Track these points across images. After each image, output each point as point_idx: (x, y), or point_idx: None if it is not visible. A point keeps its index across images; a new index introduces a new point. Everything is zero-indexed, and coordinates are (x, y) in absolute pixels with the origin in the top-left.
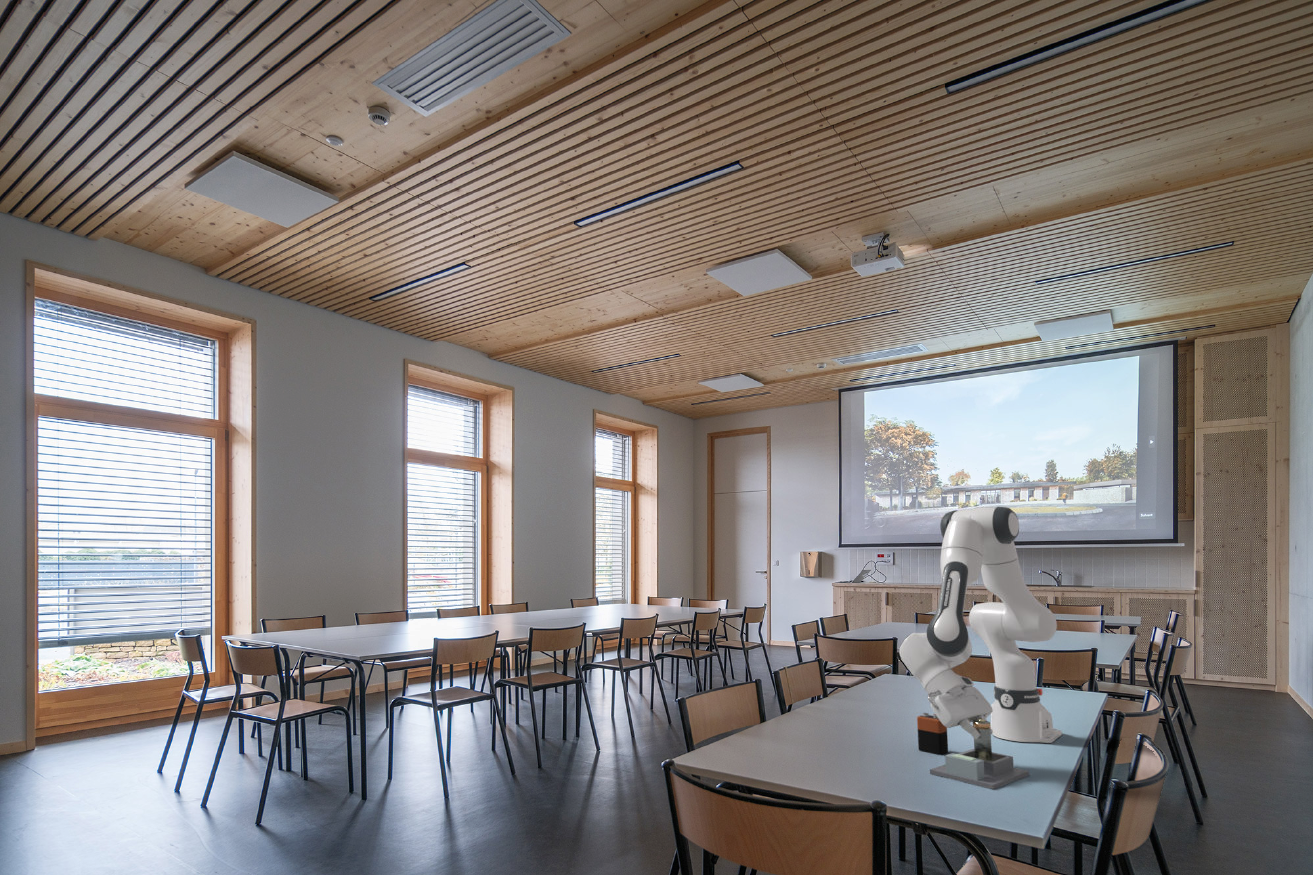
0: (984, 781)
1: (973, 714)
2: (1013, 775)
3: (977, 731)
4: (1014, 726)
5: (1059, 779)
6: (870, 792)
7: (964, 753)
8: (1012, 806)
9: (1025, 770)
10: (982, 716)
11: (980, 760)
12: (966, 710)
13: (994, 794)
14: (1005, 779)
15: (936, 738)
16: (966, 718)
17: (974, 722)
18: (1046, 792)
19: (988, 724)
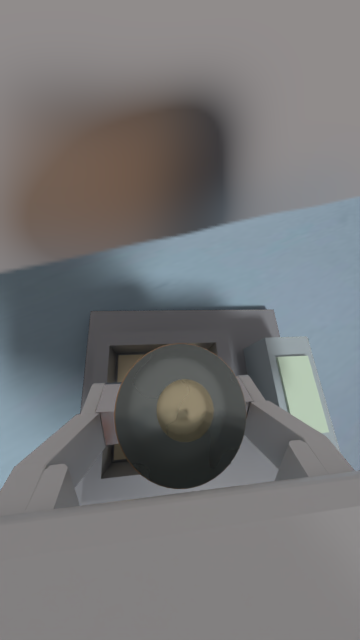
0: (268, 333)
1: (224, 499)
2: (164, 316)
3: (248, 388)
4: None
5: (75, 261)
6: None
7: None
8: (314, 251)
9: (92, 318)
10: (24, 502)
11: (277, 341)
12: (351, 595)
13: (291, 296)
14: (212, 311)
15: None
16: (348, 473)
17: (241, 436)
18: (193, 245)
19: (189, 345)
